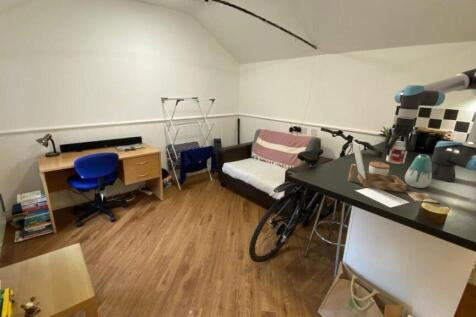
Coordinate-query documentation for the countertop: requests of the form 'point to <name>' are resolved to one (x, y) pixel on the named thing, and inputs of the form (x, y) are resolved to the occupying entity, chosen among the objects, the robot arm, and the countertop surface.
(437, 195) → the countertop surface
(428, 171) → the vase
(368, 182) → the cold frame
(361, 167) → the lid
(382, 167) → the lidded jar
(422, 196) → the cork mat
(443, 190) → the countertop surface
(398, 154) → the pill bottle
